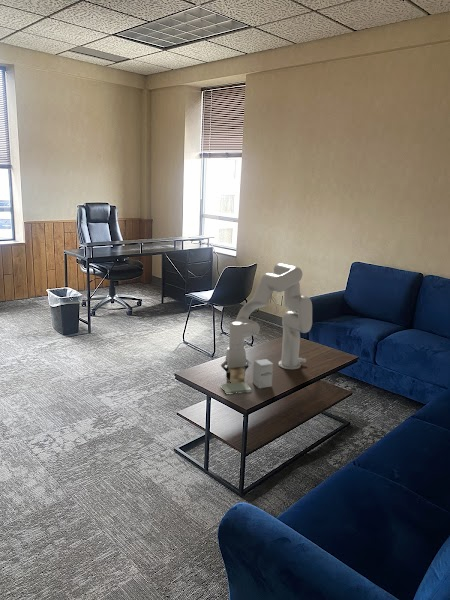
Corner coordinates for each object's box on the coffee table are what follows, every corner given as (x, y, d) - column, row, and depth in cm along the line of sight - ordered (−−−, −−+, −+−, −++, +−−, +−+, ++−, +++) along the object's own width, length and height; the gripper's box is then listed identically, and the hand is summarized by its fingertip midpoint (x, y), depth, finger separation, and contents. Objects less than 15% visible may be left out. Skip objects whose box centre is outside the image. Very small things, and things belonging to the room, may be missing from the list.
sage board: (245, 384, 238) (245, 381, 238) (251, 392, 230) (251, 389, 230) (220, 387, 235) (220, 384, 234) (226, 394, 226) (226, 391, 226)
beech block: (239, 376, 247) (239, 364, 246) (244, 383, 240) (244, 370, 238) (226, 378, 245) (227, 365, 243) (231, 384, 238) (231, 371, 236)
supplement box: (259, 389, 234) (260, 365, 231) (252, 383, 240) (253, 360, 237) (272, 386, 237) (273, 363, 234) (265, 381, 243) (266, 358, 240)
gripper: (250, 342, 244) (248, 373, 248) (218, 344, 239) (217, 377, 243) (255, 346, 237) (253, 379, 241) (222, 349, 232) (221, 382, 236)
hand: (235, 378), depth 242 cm, fingers closed on beech block, 7 cm apart
